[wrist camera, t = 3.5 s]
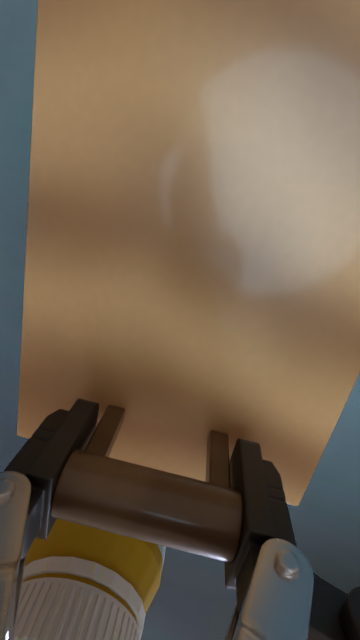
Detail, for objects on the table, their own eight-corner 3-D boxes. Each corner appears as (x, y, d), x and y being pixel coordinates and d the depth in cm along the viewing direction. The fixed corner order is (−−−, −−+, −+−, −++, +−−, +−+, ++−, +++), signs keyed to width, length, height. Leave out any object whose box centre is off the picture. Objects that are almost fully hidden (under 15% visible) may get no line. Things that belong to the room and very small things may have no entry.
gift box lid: (293, 490, 14) (333, 641, 9) (26, 423, 15) (-70, 536, 10) (511, 3, 8) (913, -265, 4) (57, -90, 9) (-145, -455, 4)
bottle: (84, 449, 27) (-55, 711, 13) (107, 380, 25) (-34, 610, 11) (165, 478, 28) (110, 768, 14) (194, 412, 25) (166, 681, 11)
